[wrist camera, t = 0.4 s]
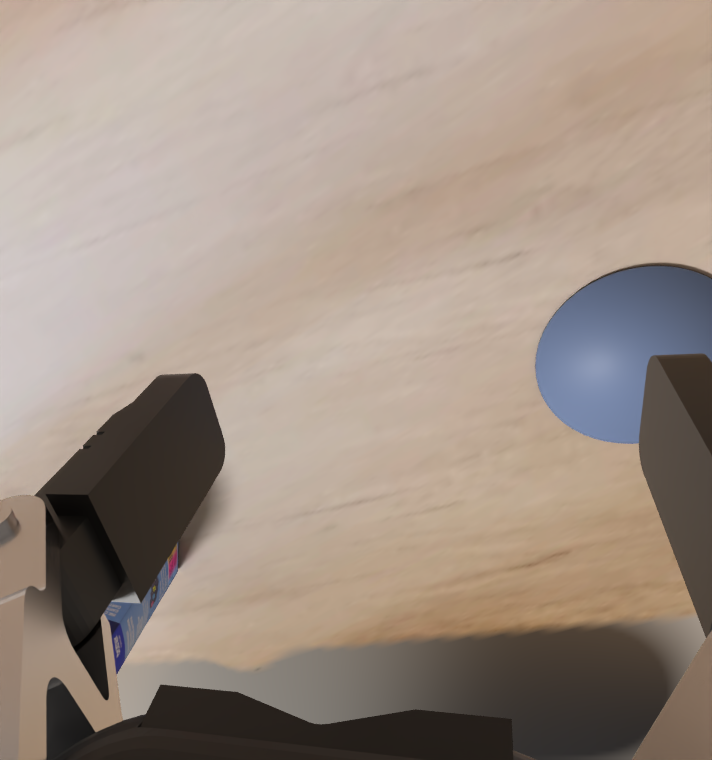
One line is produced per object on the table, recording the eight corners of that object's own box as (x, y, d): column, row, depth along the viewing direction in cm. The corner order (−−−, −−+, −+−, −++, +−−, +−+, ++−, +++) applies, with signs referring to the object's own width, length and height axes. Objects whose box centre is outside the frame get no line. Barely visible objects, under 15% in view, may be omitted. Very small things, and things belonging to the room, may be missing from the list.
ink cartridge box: (179, 531, 54) (91, 672, 42) (182, 570, 57) (100, 713, 45) (83, 509, 55) (-31, 640, 43) (90, 549, 58) (-15, 682, 46)
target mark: (535, 275, 36) (535, 276, 36) (769, 256, 33) (770, 257, 33) (535, 443, 42) (536, 445, 42) (733, 440, 39) (734, 442, 39)
